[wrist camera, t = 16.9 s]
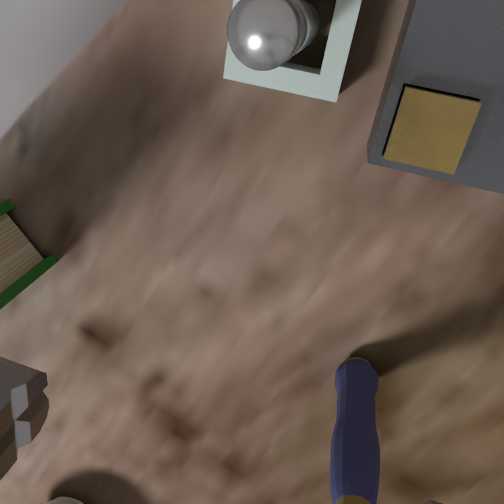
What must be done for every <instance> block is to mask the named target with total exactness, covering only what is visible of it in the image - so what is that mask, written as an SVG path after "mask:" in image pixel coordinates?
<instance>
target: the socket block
mask: <svg viewBox="0 0 504 504" xmlns="http://www.w3.org/2000/svg"><path fill="white" fill-rule="evenodd" d="M404 83H407V84H411V85H416V86H421V87H426V88H431V89H435V90H440V91H445V92H450V93H455V94H460V95H464V96H466V97H467V98H468V99H470V100H474V101H479V102H481V103H482V105H481V107H480V110H479V112H478V115H477V117H476V120H475V122H474V125H473V127H472V130H471V132H470V135H469V137H468V140H467V143H466V145H465V148H464V150H463V153H462V155H461V158H460V160H459V163H458V165H457V168H456V170H455V173H454V175H453V174H449V173H444V172H440V171H435V170H431V169H427V168H422V167H418V166H413V165H409V164H404V163H400V162H395V161H391V160H387V159H384V153H385V150H386V138H387V135H388V132H389V129H390V126H391V122H392V119H393V116H394V113H395V110H396V106H397V103H398V100H399V97H400V94H401V90H402V87H403V84H404ZM367 155H368V163H370V164H374V165H379V166H383V167H387V168H392V169H396V170H401V171H405V172H409V173H414V174H418V175H423V176H427V177H431V178H436V179H440V180H445V181H449V182H453V183H458V184H462V185H467V186H471V187H475V188H480V189H484V190H489V191H493V192H497V193H502V194H504V0H409V3H408V7H407V10H406V14H405V17H404V20H403V24H402V27H401V31H400V34H399V37H398V41H397V44H396V48H395V51H394V55H393V58H392V61H391V65H390V68H389V72H388V75H387V78H386V82H385V85H384V89H383V92H382V96H381V99H380V102H379V106H378V109H377V113H376V116H375V119H374V123H373V126H372V130H371V133H370V136H369V140H368V143H367Z"/></svg>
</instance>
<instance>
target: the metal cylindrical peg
mask: <svg viewBox="0 0 504 504" xmlns="http://www.w3.org/2000/svg"><path fill="white" fill-rule="evenodd" d="M318 29H319V17H318V14H317V11H316V9H315V8H314V6H313V5H312V4H311V3H310V2H309V1H307V0H240V1H239V2H238V3H237V4H236V5H235V7H234V8H233V10H232V12H231V14H230V17H229V20H228V26H227V36H228V41H229V45H230V48H231V50H232V52H233V54H234V55H235V56H236V58H237V59H238V60H239V61H240V62H241V63H242V64H244V65H245V66H247V67H249V68H251V69H254V70H259V71H267V70H272V69H275V68H277V67H279V66H280V65H282V64H284V63H285V62H286V61H288V60H289V59H290V58H291V57H292V56H294V55H295V54H297V53H298V52H300V51H301V50H303V49H305V48H306V47H308V46H309V45H310V44H311V43H312V42H313V41H314V39H315V37H316V35H317V33H318Z"/></svg>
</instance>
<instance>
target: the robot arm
mask: <svg viewBox="0 0 504 504" xmlns="http://www.w3.org/2000/svg"><path fill="white" fill-rule="evenodd" d="M47 385H48V383H47V374H46V373H44V372H41V371H38V370H36V369H33V368H30V367H27V366H25V365H22V364H19V363H17V362H14V361H11V360H8V359H6V358H3V357H0V480H1V479H2V478H3V477H4V475H5V474H6V473H7V472H8V470H9V469H10V468H11V467H12V465H13V464H14V463H15V462H16V461H17V450H18V448H20V447H22V446H24V445H26V444H29V443H31V442H32V441H33V439H34V438H35V437H36V435H37V434H38V433H39V432H40V430H41V428H42V426H43V424H44V422H45V420H46V418H47V414H48V409H49V399H48V398H47V397H46V395H45V394H44V392H43V389H44V388H45V387H46V386H47ZM425 504H442V503H438V502H435V501H432V500H429V501H427V502H425Z"/></svg>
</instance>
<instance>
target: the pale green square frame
mask: <svg viewBox="0 0 504 504" xmlns="http://www.w3.org/2000/svg"><path fill="white" fill-rule="evenodd" d="M239 1H240V0H233V7H232V10H233V8H234V7H235V5H236V4H237V3H238V2H239ZM361 3H362V0H337V1H336V6H335V10H334V14H333V19H332V23H331V28H330V32H329V36H328V41H327V45H326V50H325V54H324V59H323V63H322V67H321V69H317V68H313V67H308V66H303V65H298V64H293V63H289V62H285V63H284V64H282V65H280V66H279V67H277V68H275V69H272V70H267V71H259V70H254V69H251V68H249V67H247V66H245V65H244V64H242V63H241V62H240V61H239V60H238V59H237V58H236V56H235V55H234V54H233V52H232V50H231V48H230V45H229V41H228V45H227V52H226V60H225V68H224V75H223V78H225V79H229V80H234V81H239V82H243V83H248V84H253V85H257V86H262V87H267V88H271V89H276V90H281V91H285V92H290V93H294V94H299V95H304V96H308V97H313V98H318V99H322V100H327V101H332V102H337V98H338V95H339V91H340V87H341V83H342V79H343V75H344V71H345V67H346V63H347V59H348V55H349V51H350V47H351V43H352V39H353V35H354V31H355V27H356V23H357V19H358V15H359V11H360V7H361Z"/></svg>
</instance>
